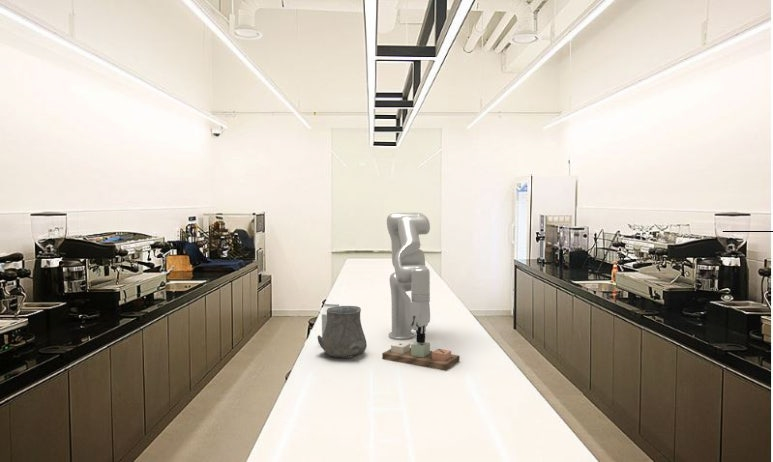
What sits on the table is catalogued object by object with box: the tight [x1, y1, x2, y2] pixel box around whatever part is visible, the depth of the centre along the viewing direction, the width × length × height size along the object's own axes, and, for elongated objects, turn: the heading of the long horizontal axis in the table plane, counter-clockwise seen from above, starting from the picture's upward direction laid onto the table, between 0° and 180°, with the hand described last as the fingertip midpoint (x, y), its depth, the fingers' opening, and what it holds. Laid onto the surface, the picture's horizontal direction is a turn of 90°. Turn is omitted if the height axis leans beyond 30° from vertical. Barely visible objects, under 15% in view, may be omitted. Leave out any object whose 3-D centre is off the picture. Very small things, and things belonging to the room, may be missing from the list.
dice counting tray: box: [381, 347, 461, 372], centre depth 208 cm, size 29×13×2 cm, turn 59°
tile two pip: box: [410, 341, 431, 358], centre depth 208 cm, size 6×6×5 cm
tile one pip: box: [390, 341, 411, 354], centre depth 213 cm, size 6×6×5 cm
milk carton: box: [321, 303, 340, 337], centre depth 230 cm, size 7×7×19 cm
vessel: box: [317, 305, 368, 359], centre depth 215 cm, size 22×22×20 cm
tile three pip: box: [432, 348, 452, 362], centre depth 203 cm, size 6×6×5 cm
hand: (420, 342), depth 207 cm, fingers closed
